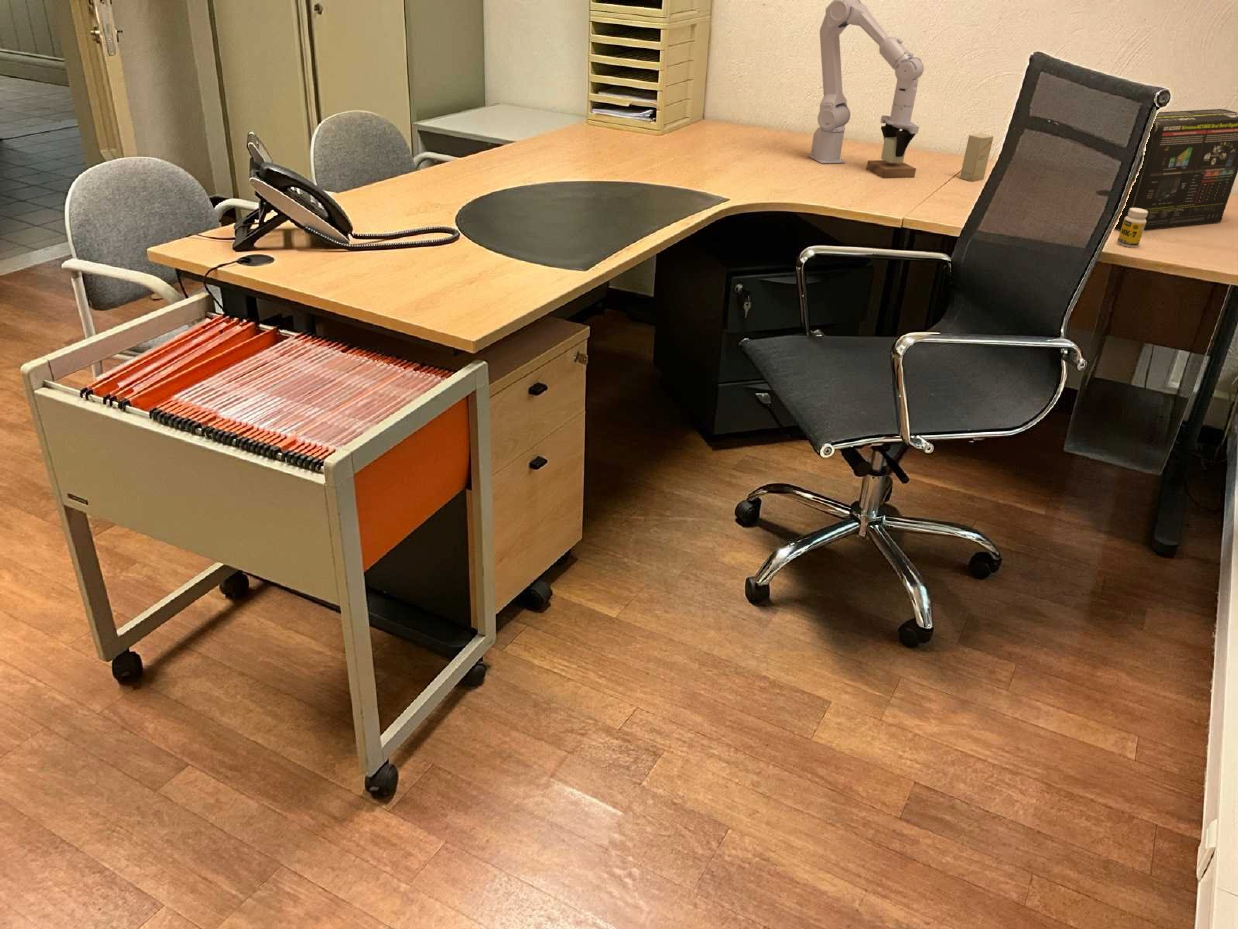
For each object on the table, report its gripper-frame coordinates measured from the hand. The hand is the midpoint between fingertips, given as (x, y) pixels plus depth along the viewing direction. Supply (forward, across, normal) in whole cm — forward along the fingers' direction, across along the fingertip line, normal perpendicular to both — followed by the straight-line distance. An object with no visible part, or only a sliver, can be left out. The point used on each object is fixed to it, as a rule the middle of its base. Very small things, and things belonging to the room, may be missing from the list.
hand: (893, 154), depth 282 cm
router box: (+6, +58, +41) cm, 71 cm away
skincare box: (+6, +11, +21) cm, 24 cm away
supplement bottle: (+6, +70, +17) cm, 73 cm away
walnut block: (+6, 0, 0) cm, 6 cm away
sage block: (+2, 0, 0) cm, 2 cm away
